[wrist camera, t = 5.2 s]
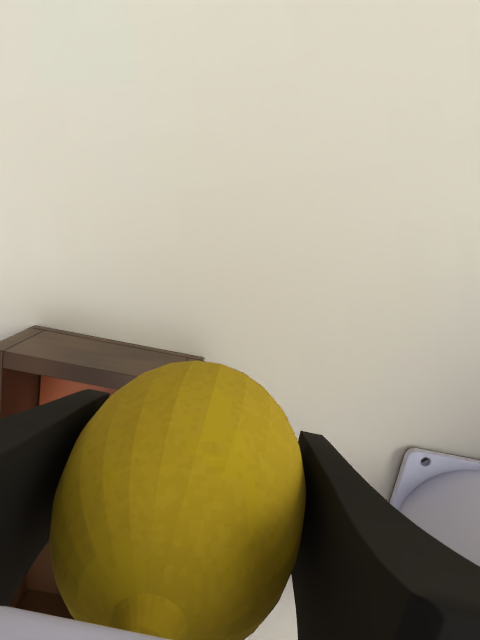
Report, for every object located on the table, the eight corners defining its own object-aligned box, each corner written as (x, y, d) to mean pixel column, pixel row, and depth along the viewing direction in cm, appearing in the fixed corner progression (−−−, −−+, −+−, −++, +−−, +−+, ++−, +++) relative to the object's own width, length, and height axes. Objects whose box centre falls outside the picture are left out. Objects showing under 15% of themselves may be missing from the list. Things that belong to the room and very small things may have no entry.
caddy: (204, 357, 21) (192, 387, 18) (160, 616, 26) (142, 687, 22) (34, 324, 21) (-16, 347, 18) (18, 589, 26) (-26, 654, 22)
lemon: (307, 464, 14) (365, 765, 6) (154, 493, 15) (32, 802, 7) (271, 310, 13) (288, 446, 5) (106, 348, 13) (-108, 523, 6)
